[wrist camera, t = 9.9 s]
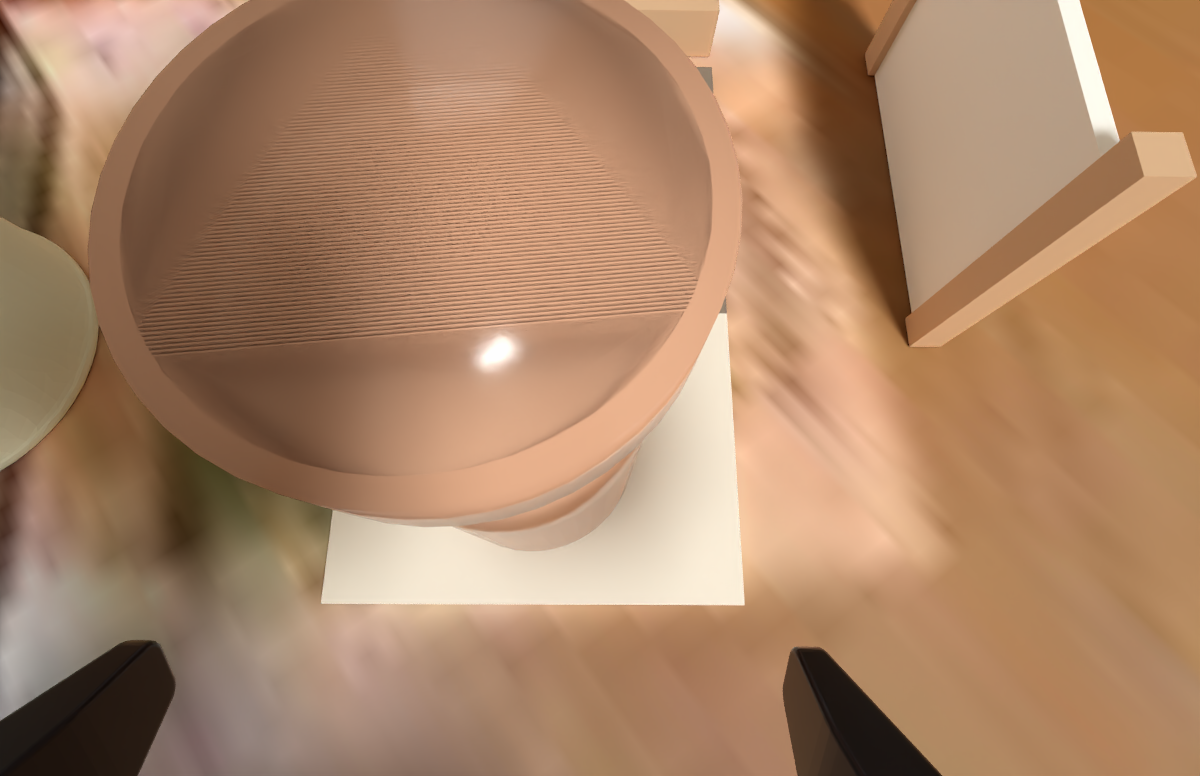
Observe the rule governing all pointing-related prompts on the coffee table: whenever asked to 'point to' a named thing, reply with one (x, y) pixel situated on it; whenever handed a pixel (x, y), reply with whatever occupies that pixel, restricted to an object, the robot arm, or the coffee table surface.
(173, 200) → the tan tall round cup
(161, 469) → the coffee table surface
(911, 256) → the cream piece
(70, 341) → the can
